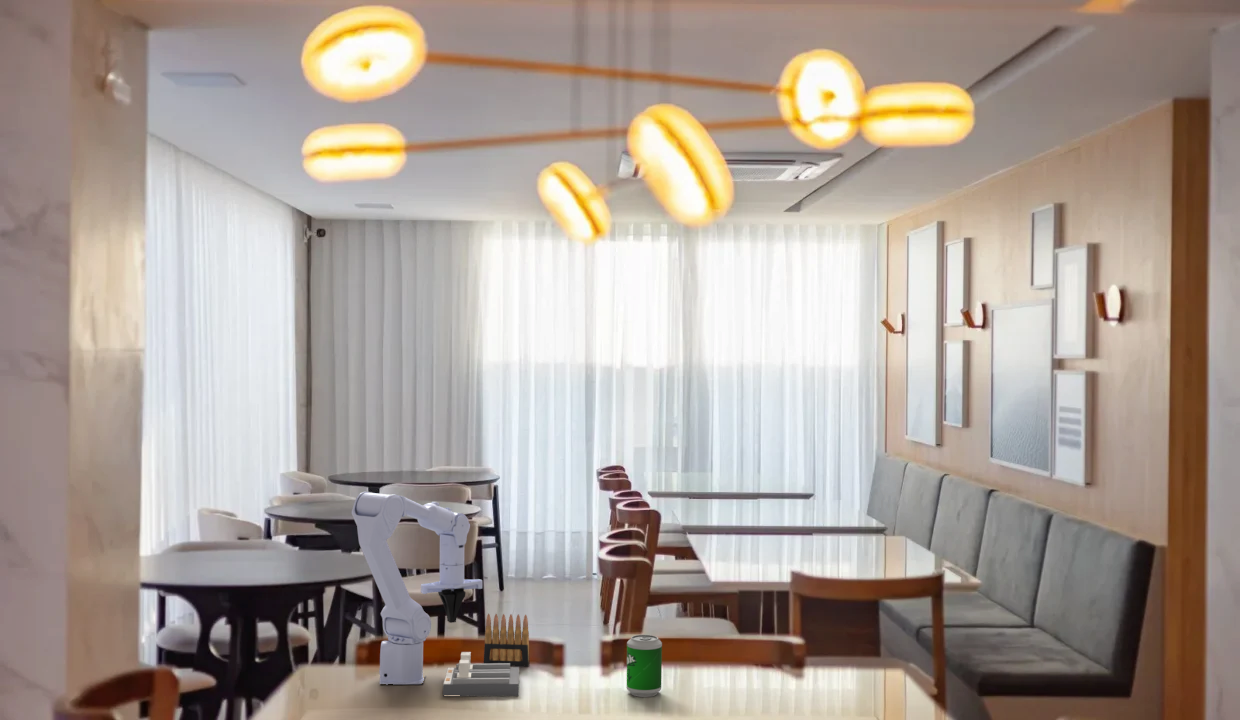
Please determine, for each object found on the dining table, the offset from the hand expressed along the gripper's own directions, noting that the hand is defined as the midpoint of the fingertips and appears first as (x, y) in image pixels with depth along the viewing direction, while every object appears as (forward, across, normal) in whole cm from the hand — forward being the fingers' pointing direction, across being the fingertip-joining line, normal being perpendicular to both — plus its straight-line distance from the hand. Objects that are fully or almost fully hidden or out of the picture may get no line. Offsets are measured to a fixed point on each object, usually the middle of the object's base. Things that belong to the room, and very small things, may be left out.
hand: (451, 621), depth 279 cm
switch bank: (+10, 0, -20) cm, 22 cm away
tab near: (+7, -5, -22) cm, 23 cm away
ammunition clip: (+11, +12, -4) cm, 17 cm away
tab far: (+8, -2, -15) cm, 17 cm away
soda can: (+11, +30, -39) cm, 50 cm away
